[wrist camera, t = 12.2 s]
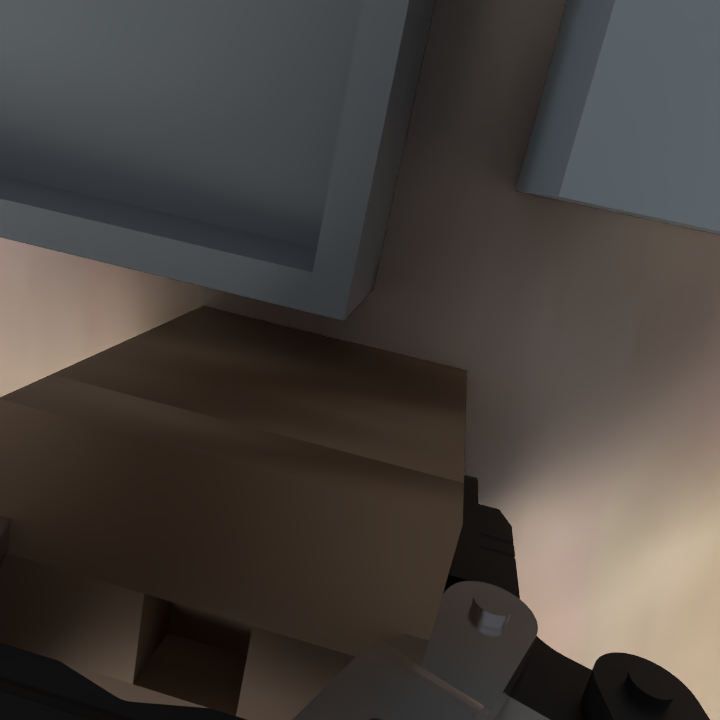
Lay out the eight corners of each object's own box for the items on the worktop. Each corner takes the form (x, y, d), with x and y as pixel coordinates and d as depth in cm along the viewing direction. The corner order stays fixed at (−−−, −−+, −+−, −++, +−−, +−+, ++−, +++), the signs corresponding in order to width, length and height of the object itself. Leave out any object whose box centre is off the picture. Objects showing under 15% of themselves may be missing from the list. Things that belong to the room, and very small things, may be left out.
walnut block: (467, 370, 13) (462, 523, 7) (404, 602, 14) (360, 882, 9) (203, 305, 13) (-3, 398, 7) (171, 535, 15) (-17, 756, 9)
